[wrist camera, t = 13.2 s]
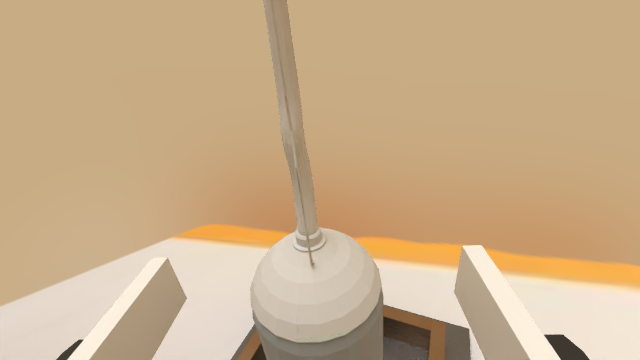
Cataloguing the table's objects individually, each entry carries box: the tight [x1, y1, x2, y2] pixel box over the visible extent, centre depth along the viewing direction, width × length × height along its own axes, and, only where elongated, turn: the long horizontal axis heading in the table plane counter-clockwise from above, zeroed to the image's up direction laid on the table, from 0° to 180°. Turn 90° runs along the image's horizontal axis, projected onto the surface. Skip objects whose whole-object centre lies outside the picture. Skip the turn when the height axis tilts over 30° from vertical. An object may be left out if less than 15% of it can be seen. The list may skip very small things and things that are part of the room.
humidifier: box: [250, 0, 384, 360], centre depth 14 cm, size 8×8×25 cm
